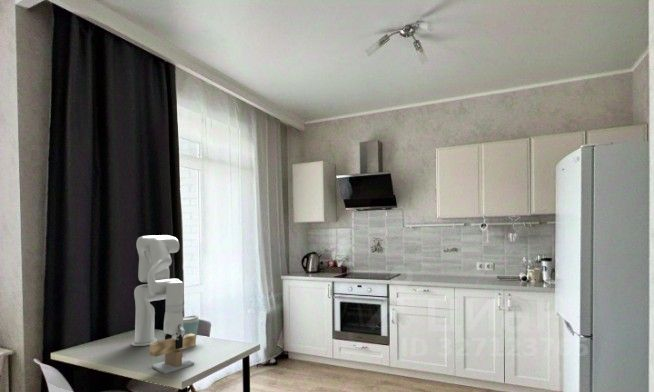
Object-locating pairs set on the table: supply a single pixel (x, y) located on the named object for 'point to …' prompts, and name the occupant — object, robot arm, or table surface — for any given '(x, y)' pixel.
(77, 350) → the table surface
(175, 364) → the stand
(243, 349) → the table surface
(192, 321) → the disposable coffee cup
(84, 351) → the table surface
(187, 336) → the oak bar
